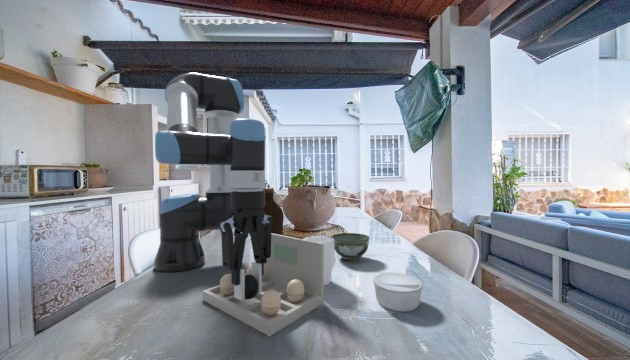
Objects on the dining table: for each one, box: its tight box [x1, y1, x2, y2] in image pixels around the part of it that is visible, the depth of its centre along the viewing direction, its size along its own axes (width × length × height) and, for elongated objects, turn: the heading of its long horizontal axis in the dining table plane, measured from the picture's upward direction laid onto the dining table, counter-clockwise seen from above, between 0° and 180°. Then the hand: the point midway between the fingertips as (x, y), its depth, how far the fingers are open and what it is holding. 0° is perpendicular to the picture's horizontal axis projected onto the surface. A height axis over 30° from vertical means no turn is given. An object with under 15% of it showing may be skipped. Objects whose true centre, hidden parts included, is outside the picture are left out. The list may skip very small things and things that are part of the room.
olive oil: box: [261, 188, 284, 236], centre depth 97 cm, size 11×11×25 cm
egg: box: [245, 274, 258, 299], centre depth 61 cm, size 4×4×5 cm
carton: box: [202, 233, 325, 337], centre depth 64 cm, size 24×17×14 cm
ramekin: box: [372, 271, 424, 313], centre depth 64 cm, size 11×11×5 cm
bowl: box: [331, 232, 370, 262], centre depth 97 cm, size 14×14×8 cm
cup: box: [302, 235, 335, 287], centre depth 76 cm, size 9×9×12 cm
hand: (248, 294), depth 61 cm, fingers closed on egg, 4 cm apart
